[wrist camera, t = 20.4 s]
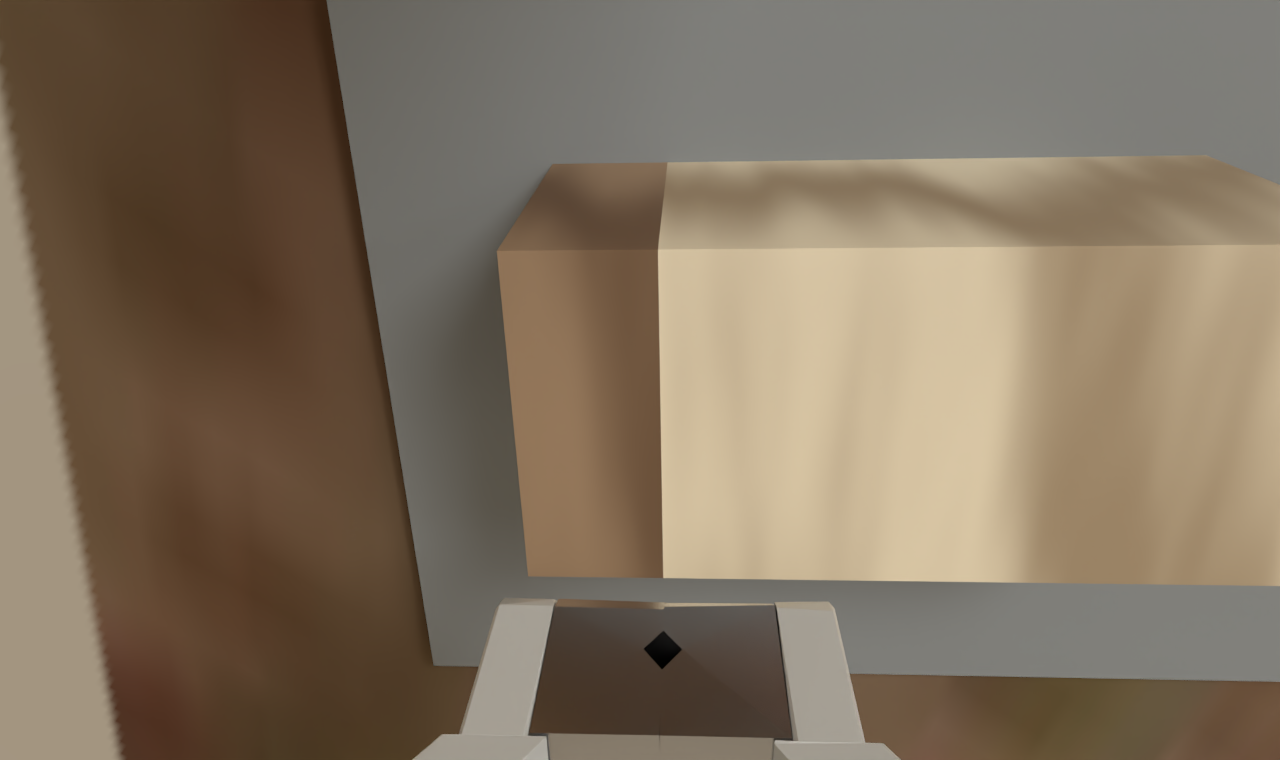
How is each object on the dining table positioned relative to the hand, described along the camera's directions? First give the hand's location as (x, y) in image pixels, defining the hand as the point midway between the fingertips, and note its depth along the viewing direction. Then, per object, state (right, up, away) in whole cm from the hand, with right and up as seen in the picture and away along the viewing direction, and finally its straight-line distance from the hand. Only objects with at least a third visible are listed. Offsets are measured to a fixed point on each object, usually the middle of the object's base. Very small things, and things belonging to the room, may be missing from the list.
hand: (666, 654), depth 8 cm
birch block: (+9, +3, +5) cm, 11 cm away
